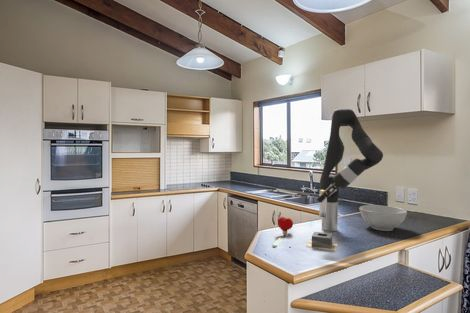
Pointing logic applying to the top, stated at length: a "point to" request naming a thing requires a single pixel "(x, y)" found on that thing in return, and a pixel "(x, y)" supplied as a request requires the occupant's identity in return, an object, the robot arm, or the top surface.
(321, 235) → the stand
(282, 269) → the top surface
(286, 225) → the red rounded lobed piece
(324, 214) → the key peg
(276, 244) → the sage mat
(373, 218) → the decorative bowl
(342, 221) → the top surface
